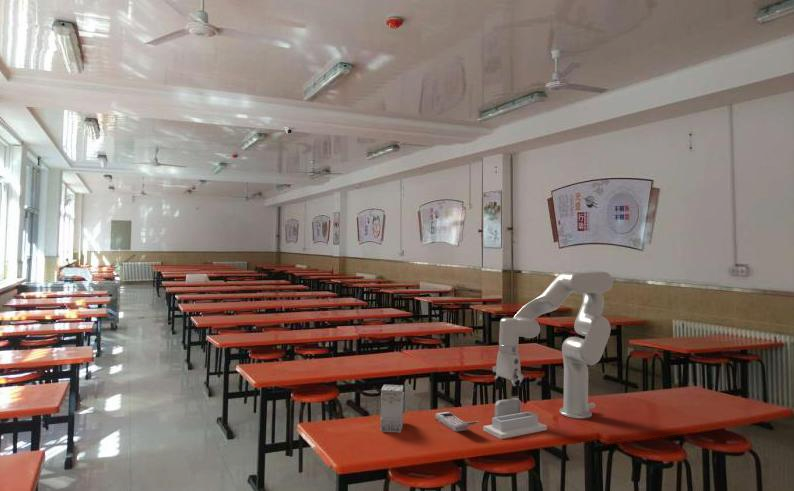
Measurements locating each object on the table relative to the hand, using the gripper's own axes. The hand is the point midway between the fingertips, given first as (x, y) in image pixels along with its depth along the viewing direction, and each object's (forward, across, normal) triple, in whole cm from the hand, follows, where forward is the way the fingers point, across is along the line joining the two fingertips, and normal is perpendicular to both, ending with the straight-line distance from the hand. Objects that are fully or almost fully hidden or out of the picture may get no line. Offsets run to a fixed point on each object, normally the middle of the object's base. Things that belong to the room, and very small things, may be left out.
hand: (506, 392), depth 201 cm
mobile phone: (+12, +2, +23) cm, 26 cm away
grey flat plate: (+11, 0, -1) cm, 11 cm away
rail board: (+11, -11, +5) cm, 16 cm away
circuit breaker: (+12, +13, +44) cm, 47 cm away
